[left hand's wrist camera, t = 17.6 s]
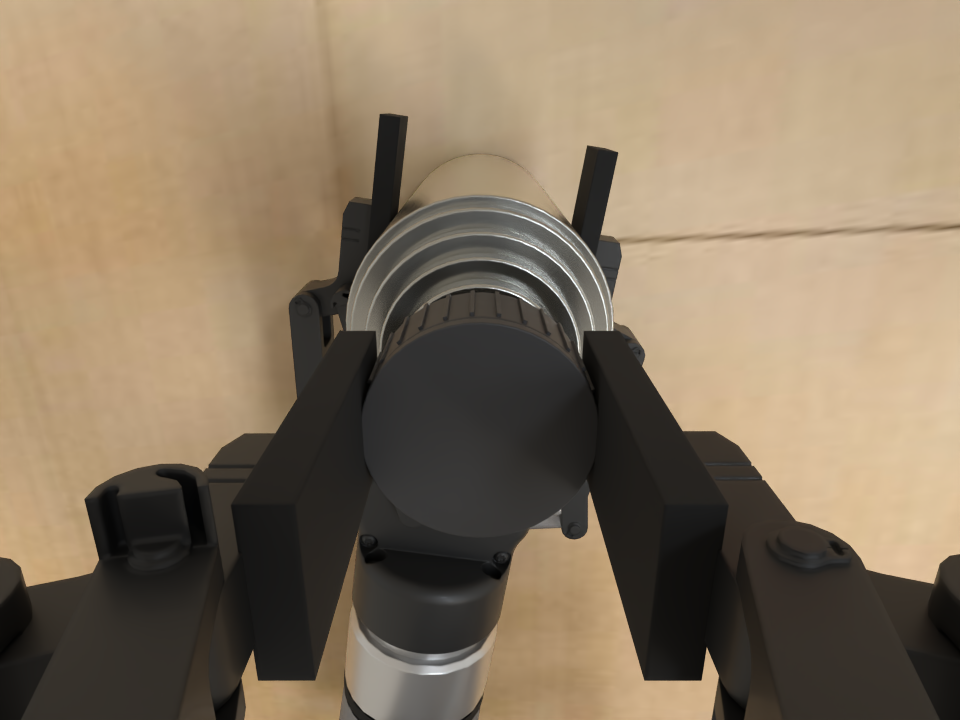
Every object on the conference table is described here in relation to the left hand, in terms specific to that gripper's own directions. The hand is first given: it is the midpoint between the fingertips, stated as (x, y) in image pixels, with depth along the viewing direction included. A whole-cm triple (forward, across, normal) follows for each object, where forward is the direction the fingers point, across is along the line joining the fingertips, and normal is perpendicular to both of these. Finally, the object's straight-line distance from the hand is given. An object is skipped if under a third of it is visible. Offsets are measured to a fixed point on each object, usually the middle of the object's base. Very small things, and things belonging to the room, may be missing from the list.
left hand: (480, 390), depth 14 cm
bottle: (+20, 0, 0) cm, 20 cm away
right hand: (+14, -1, -5) cm, 15 cm away
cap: (-2, 0, 0) cm, 2 cm away
